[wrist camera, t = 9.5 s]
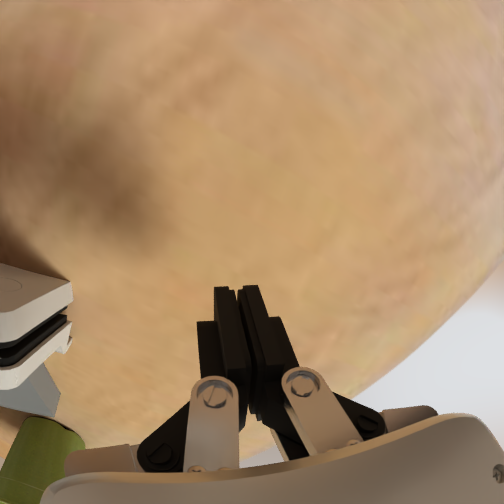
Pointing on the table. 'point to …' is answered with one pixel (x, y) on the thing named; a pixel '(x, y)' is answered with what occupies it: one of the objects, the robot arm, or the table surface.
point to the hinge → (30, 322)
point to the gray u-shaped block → (33, 394)
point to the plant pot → (36, 460)
